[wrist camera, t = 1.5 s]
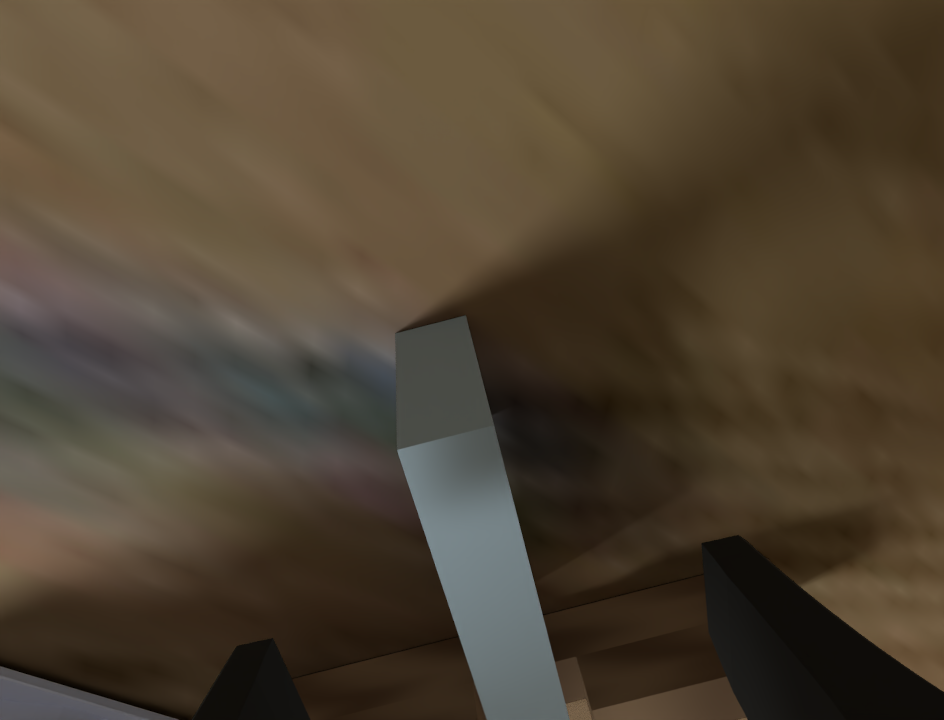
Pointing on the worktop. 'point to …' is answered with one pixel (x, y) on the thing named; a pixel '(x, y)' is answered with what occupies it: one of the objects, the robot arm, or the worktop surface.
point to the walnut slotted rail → (577, 662)
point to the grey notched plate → (473, 522)
